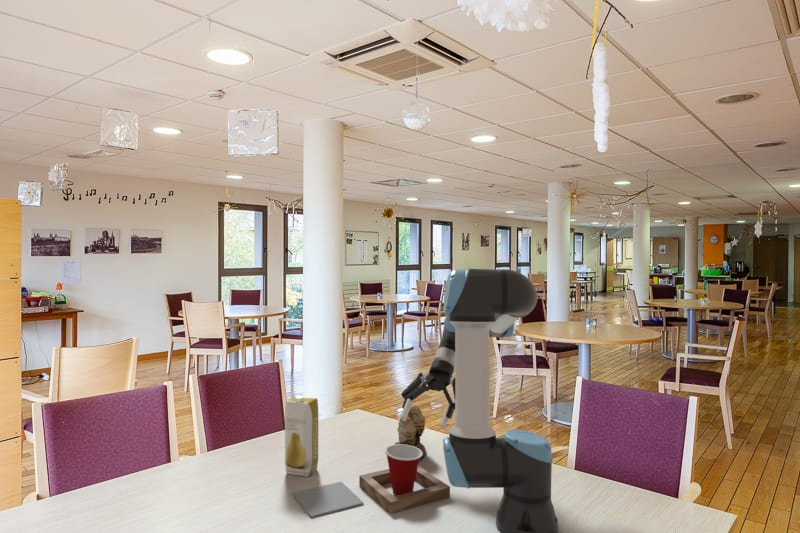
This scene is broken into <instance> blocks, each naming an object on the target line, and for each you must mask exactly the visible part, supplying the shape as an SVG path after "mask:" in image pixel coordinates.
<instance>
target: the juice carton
mask: <svg viewBox="0 0 800 533" xmlns="http://www.w3.org/2000/svg"><path fill="white" fill-rule="evenodd" d="M284 414H285V415H284V466H285V473H286V474H288V475H293V476H294V475H295V476H301V477H306V478H308V477H309V476H310V475H312V474H313V473H314V472H315V471H317V469H318V463H319V403H318V398H317V397H305V396H304V395H296V396H293V397H292V398H290V399H287V400H286V401H285V408H284Z"/></svg>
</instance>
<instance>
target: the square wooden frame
mask: <svg viewBox="0 0 800 533" xmlns="http://www.w3.org/2000/svg"><path fill="white" fill-rule="evenodd" d="M358 479H359V481H358V482H359V486H360V488H362V490H364V491H365V492H366V494H368V495H369V496H371V497H372V498H373V499H374V500H375V501H376V502H377V503H379V505H381V507H382V508H384V509H385V510H386V511H387V512H388V513H389V514H394V513H399V512H402V511H406V510H409V509H413V508H416V507H420V506H423V505H427V504H431V503H434V502H439V501H441V500H444V499H445V500H446V499H448V498H449V499H450V497H451V486H449V485H448V484H447V483H445V482H443V481H442V480H441V479H440V478H438V477H436V476H435V475H433V474H432V473H430V472H429V471H427V469H424V468H423V467H422V466H420V465H418V468H417V473H416V478H415V482H416V481H417V482H418V483H419V484H420V485H422V486H424V487H425V488H421V489H417V490H415V491H414V490H413V492H409V493H405V494H402V495H394V494H393V493H391V492H390V491H389V490H387V489H386V488H385V487H384V486H383V485H385V484H389V483H391V479H390V472H389V468H387V469H382V470H376V471H373V472H369V473H364V474H359V478H358Z"/></svg>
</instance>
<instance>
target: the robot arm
mask: <svg viewBox="0 0 800 533" xmlns="http://www.w3.org/2000/svg"><path fill="white" fill-rule="evenodd" d="M445 283H446V284H445V289H444V297H443V308H442V310H443V314H444V315H445V318H444V321H443V324H444V325H443V331H442V335H441V340H440V341H439V346H438V347H437V350H436V353H435V355H434V357H433V361H432V363H431V364H430V367H429V372H428V374H423V373H422V372H418V374H417V376H416V378H415V379H414V380H413V381H412V382H411V383H410V384H409V385H408V386H407V387H406V388H405V389H403V391H402V392H401V394H400V395H401V398H403V400H404V401H403V402H402V403H403V404H402V406H401V409H402V410H401V411H402V412H401V414H400V415H399V418H402V420H403V421H406V418H407V416H408V413H409V411H410V408H411V406H412V404H413V401H414V400H415V399H416V398H418V397H419V396H421V395H423V394H424V393H425V392H428V391H430V390H431V391H437V392H441V391H442V392H443V394H444V396H445V399H446V401H447V403H448V404H449V405H448V404H447V405H445V408H444V410H443V411H444V412H443V413H442V417H441V420H440V421H439V422H440V423H439V425H440V427H441V429H443V430H446V427H447V424H448V420H449V419H451V418H452V417H453V414H454V416H455V417H454V418H455V419H454V420H455V423H454V425H453V426H451V427H450V428H449V432H448V433H449V436H447V437H444V438H443V440H442V442H443V443H442V444H443V454H444V456H443V457H444V462H445V467H446V468H445V469H446V473H447V478H448V482H449V483H450V485H451V486H452V487H455V488H464V489H465V488H466V489H473V488H474V489H475V488H477V489H478V488H479V489H480V488H481V489H482V488H483V489H486V488H487V489H488V488H489V489H490V488H491V489H492V488H494V489H497V488H498V489H499V488H500V489H501V488H503V493H502V497H501V500H500V503H499V507H498V509H497V510H496V514H495V526H496V528H497V530H498V531H499V532H500V533H558V532H559V521H558V518H557V516H556V512H555V507H554V505H553V501H552V471H553V470H552V468H553V466H552V464H553V453H552V445H551V443H550V442H549V440H548V439H547V438H545V437H543V436H541V435H540V434H538V433H535V432H531V431H528V430H524V429H510V430H509V429H508V430H506V431H505V432H504V434H503V436H502V437H497V432H496V431H495V429H494V428H493V427H492V426H491V424H490V421H491V420H490V418H491V415H490V414H491V412H490V411H491V410H490V409H491V408H490V404H491V403H490V400H491V396H490V393H491V392H490V386H491V385H490V383H491V382H490V379H491V378H490V338H501V339H503V338H511V337H512V336H513V335H514V334H513V333H514V328H515V322H517V320H519V319H520V318H524V317H526V316H528V315H529V314H530V313H531V312H532V311H533V310H534V309H535V307H536V305H537V302H538V291H537V288H536V286H535V285H534V283H533V282H532V281H531V279H530V278H528V277H527V276H526V275H524V274H522V273H521V272H519V271H516V270H513V269H508V268H507V269H503V268H502V269H489V268H486V269H484V268H462V269H454V270H452V271H450V272H449V274H448V275H447V278H446V282H445ZM454 373H455V374H454ZM453 374H454V375H455V377H454V378H453ZM452 378H453V379H452ZM450 385H451V386H452V391H453V397H454V401H453V399H452V397H451V395H450V393H449V391H448V389H447V387H448V386H450ZM454 412H455V413H454Z"/></svg>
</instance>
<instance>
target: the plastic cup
mask: <svg viewBox="0 0 800 533" xmlns="http://www.w3.org/2000/svg"><path fill="white" fill-rule="evenodd" d="M384 451H385V452H384V453H385V454H386V459H387V463H388V469H389V472H390V479H391V482H390V483H391V490H392V493H394V494H395V495H396V496H398V495H402V494H405V493H409V492H413V491H414V486H415V482H416V480H415V478H416V473H417V468H418V466H419V463H420V461H421V460H420V458H421V456H422V455H423V454H422V451H421V450H420V449H419V448H416V447H414V446H410V445H404V444H396V445H395V444H390V445H388V446H387V447H385V450H384ZM419 460H420V461H419ZM394 494H393V495H394Z"/></svg>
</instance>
